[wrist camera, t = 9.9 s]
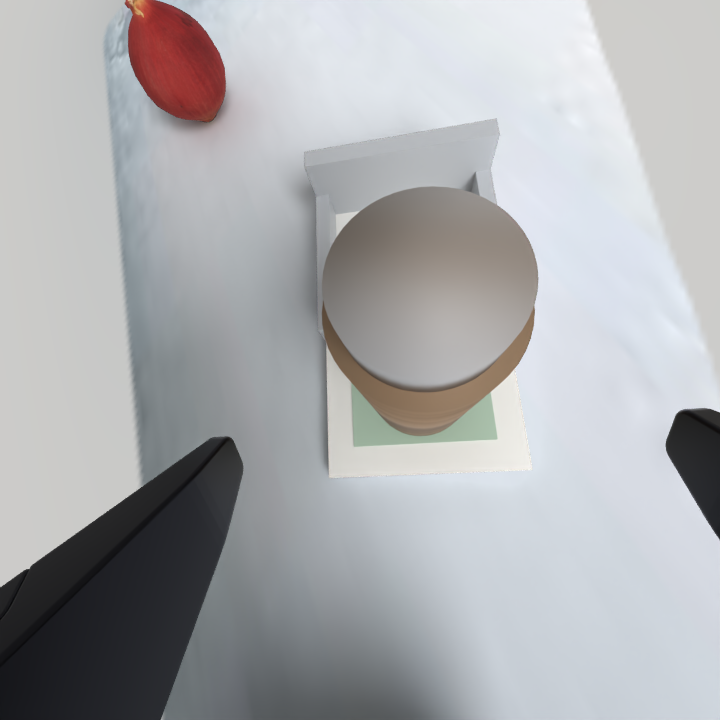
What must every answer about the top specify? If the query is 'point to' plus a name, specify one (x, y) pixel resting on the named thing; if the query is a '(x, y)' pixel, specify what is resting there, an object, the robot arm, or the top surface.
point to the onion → (175, 60)
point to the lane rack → (333, 211)
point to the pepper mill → (428, 304)
